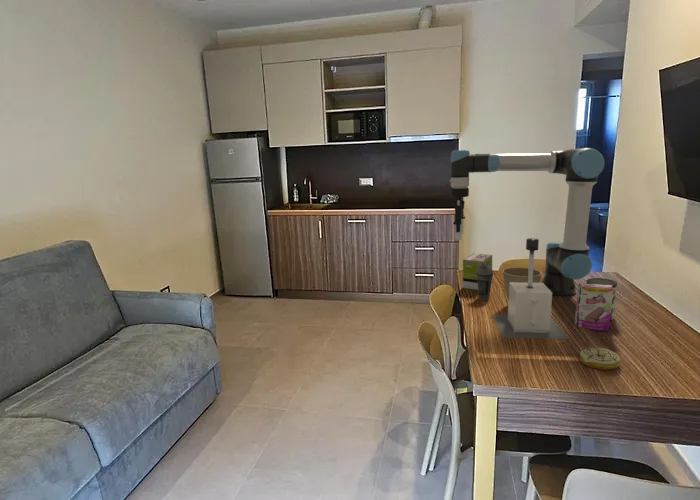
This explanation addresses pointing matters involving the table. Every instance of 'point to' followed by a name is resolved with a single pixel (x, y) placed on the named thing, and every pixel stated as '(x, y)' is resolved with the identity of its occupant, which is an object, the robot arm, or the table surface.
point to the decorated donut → (600, 358)
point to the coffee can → (604, 282)
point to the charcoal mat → (509, 333)
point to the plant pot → (519, 276)
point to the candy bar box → (594, 306)
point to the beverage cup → (484, 281)
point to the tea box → (474, 269)
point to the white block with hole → (529, 307)
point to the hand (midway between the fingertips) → (459, 236)
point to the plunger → (531, 257)
